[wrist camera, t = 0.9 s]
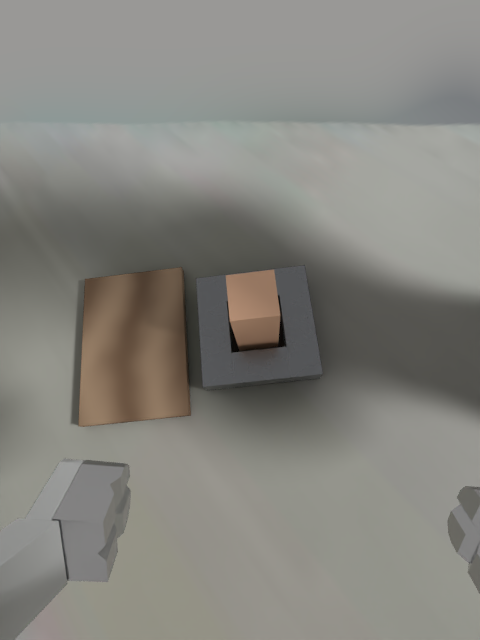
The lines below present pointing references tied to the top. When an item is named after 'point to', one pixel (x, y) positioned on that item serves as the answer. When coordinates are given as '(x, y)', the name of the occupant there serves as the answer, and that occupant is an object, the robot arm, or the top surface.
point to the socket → (261, 364)
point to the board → (134, 348)
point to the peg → (254, 309)
